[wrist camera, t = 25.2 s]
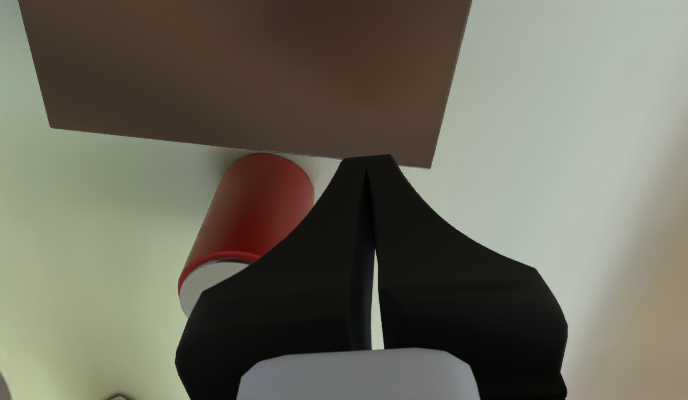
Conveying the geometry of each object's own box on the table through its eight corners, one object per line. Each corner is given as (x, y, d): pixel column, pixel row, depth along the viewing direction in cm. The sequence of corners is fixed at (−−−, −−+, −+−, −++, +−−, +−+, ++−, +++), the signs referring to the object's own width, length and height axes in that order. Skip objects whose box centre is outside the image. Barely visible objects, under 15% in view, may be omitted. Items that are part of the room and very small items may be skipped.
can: (208, 159, 25) (154, 265, 18) (304, 146, 25) (284, 251, 18) (235, 235, 28) (197, 351, 21) (322, 225, 27) (311, 341, 21)
